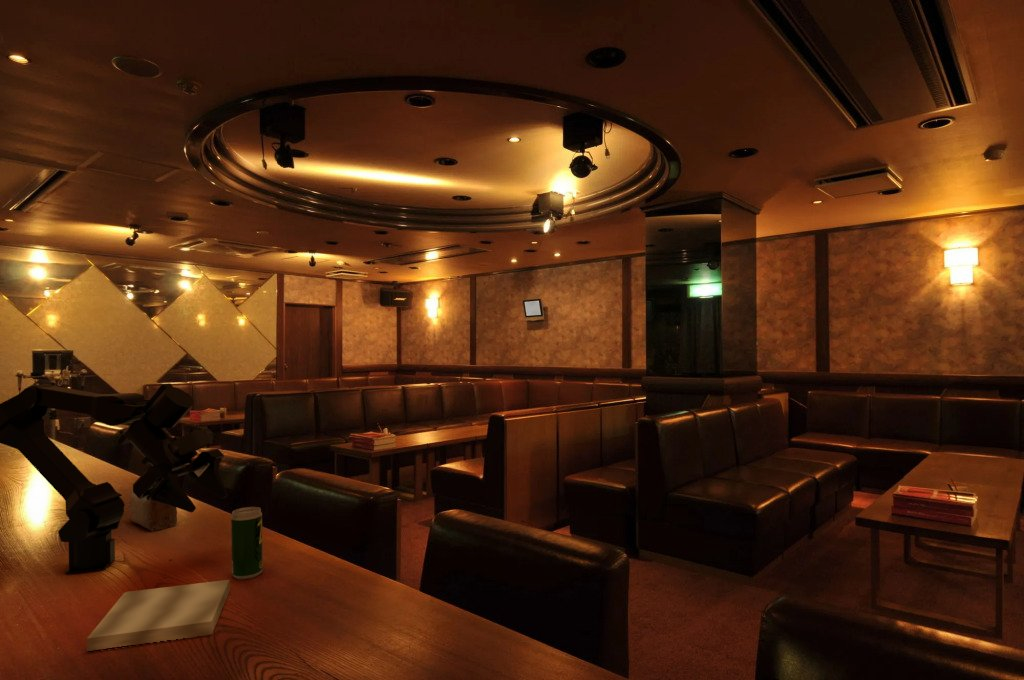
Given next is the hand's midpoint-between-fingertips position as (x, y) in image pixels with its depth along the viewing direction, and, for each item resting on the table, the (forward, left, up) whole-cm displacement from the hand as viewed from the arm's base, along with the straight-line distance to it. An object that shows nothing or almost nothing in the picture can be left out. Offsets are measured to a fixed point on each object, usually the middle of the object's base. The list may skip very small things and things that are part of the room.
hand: (210, 503), depth 112 cm
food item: (-19, +38, -13) cm, 45 cm away
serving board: (-3, -18, -13) cm, 23 cm away
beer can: (+7, -3, -13) cm, 15 cm away
